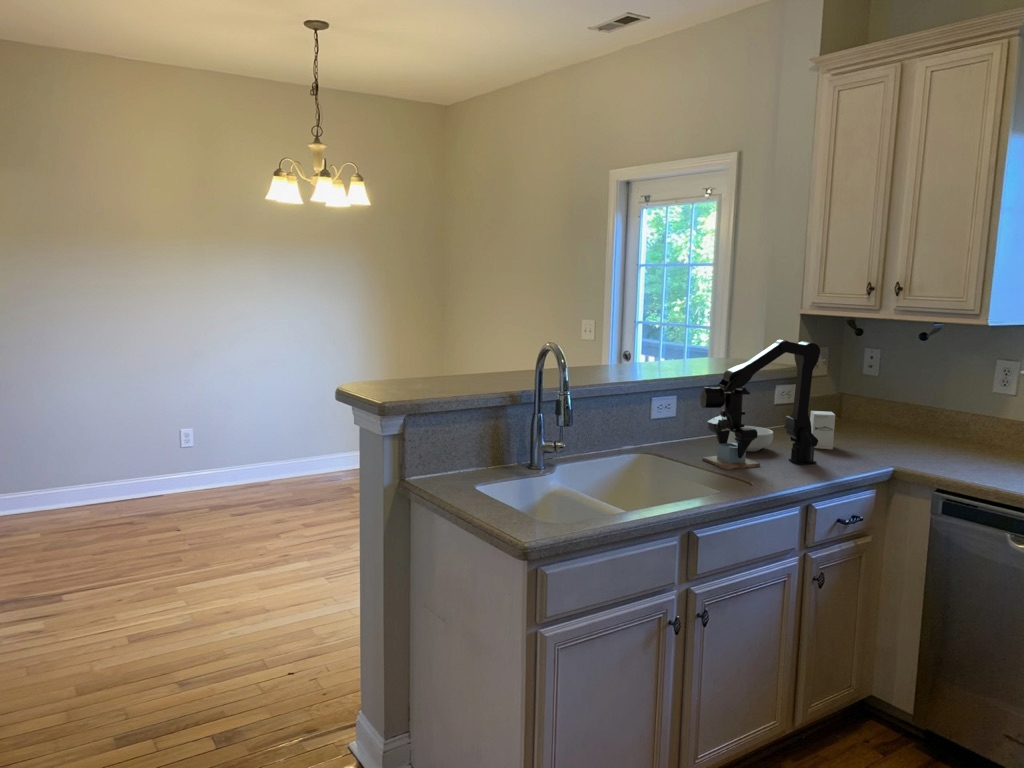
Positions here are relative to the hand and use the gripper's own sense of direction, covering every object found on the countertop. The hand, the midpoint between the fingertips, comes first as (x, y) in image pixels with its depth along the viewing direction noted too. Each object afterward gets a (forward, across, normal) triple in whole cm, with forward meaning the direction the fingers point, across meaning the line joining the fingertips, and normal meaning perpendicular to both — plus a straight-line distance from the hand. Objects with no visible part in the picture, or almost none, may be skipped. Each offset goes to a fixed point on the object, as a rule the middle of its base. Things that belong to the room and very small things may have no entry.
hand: (731, 454), depth 247 cm
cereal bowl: (+3, -16, +18) cm, 24 cm away
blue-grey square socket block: (+2, 0, 0) cm, 2 cm away
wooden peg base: (+3, 0, 0) cm, 3 cm away
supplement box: (+3, -10, +46) cm, 47 cm away
